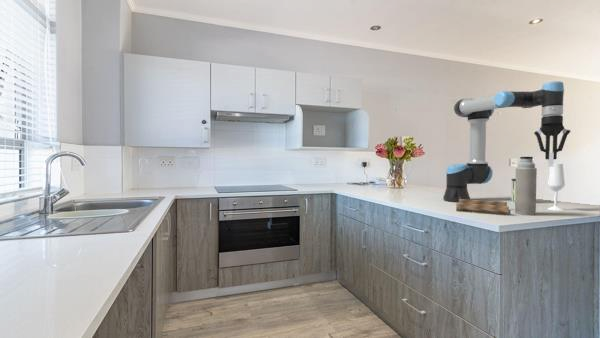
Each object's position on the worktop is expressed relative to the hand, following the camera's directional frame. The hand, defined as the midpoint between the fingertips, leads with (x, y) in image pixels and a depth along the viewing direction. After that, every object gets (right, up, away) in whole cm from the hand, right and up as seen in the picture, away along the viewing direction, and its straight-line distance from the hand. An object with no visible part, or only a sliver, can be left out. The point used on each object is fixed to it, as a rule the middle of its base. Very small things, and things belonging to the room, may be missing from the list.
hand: (550, 166), depth 134 cm
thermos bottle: (-7, -23, +6) cm, 25 cm away
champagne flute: (+16, -23, +15) cm, 32 cm away
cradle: (-22, -23, +16) cm, 36 cm away
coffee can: (+18, -22, +40) cm, 49 cm away
